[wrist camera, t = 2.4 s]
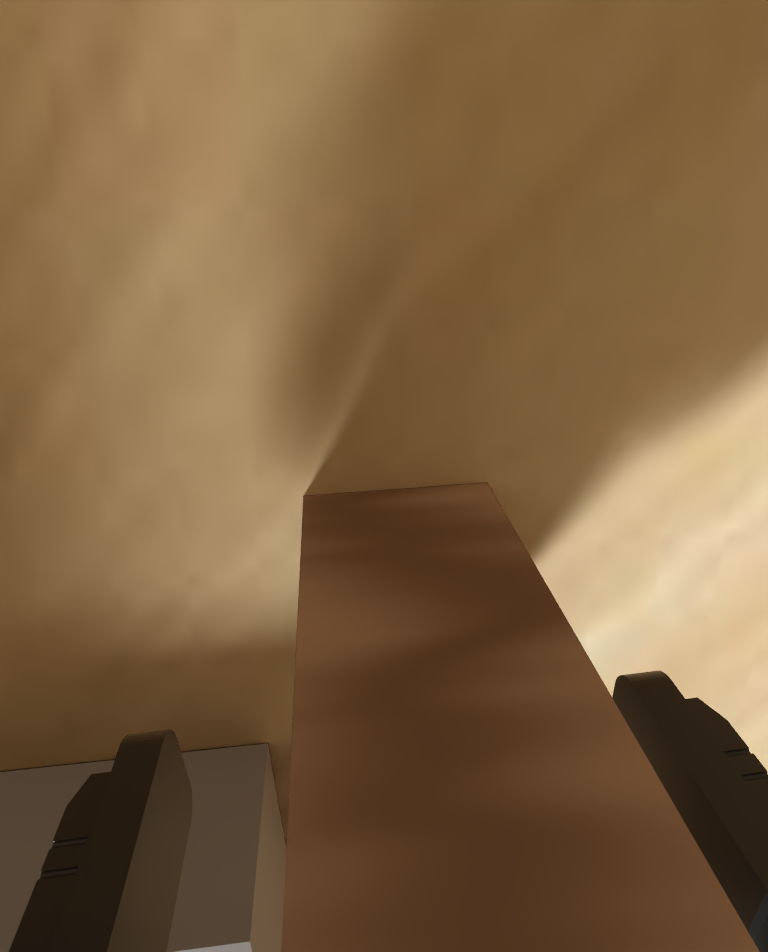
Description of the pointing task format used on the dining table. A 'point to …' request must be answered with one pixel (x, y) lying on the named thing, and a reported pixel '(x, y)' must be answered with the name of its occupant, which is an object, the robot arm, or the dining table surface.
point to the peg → (468, 754)
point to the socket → (206, 857)
